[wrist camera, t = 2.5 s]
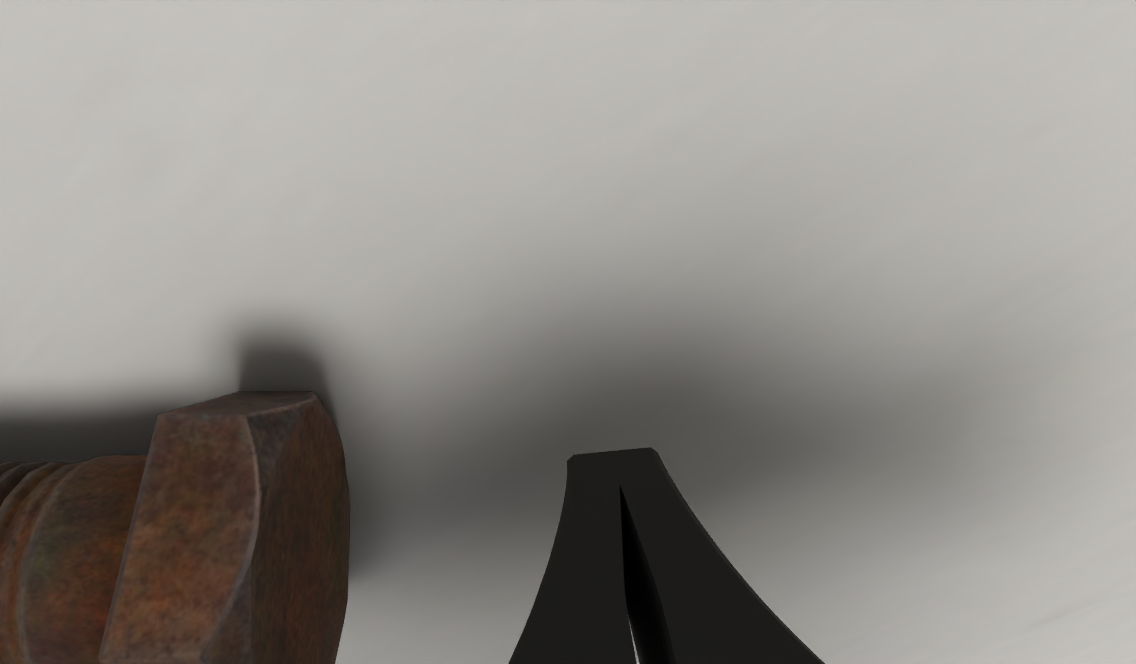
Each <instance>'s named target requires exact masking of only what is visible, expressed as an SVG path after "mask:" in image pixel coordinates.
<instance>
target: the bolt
mask: <svg viewBox="0 0 1136 664" xmlns="http://www.w3.org/2000/svg"><path fill="white" fill-rule="evenodd" d="M349 542H350V511H349V487H348V481H347V476H346V469H345V458H344V451H343V447H342V444H341V440H340V437H339V434H338V432H337V429H336V427H335V425H334V423H333V421H332V418H331V417H330V415H329V414H328V412H327V411H326V409H325V408H324V406H323V405H322V403H321V402H320V400H319V399H318V397H317V396H316V394H315V393H313V392H312V391H239V392H236V393H232V394H229V395H225V396H222V397H219V398H215V399H212V400H208V401H205V402H201V403H198V404H194V405H191V406H187V407H184V408H180V409H177V410H173V411H170V412H166V413H163V414H159V415H158V416H157V419H156V423H155V427H154V431H153V435H152V439H151V443H150V447H149V452H148V455H108V456H100V457H94V458H92V459H90V460H88V461H84V462H79V463H74V464H72V463H61V462H50V463H46V462H33V463H20V462H4V463H0V664H335V661H336V656H337V652H338V647H339V642H340V638H341V633H342V628H343V624H344V618H345V612H346V606H347V599H348V571H349Z"/></svg>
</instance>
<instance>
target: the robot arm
mask: <svg viewBox="0 0 1136 664" xmlns="http://www.w3.org/2000/svg"><path fill="white" fill-rule="evenodd" d="M628 617H629V619H628ZM629 621H630V624H629ZM630 626H631V630H632V634H633V638H634V642H635V646H636V651H637V655H638V659H639V663H640V664H825V663H824V662H823V661H822V660H821V659H819V658H818V657H817V656H816V655H815V654H814V653H813V652H812V651H811V650H810V649H809V648H808V647H807V646H806V645H805V644H804V643H803V642H802V641H801V640H800V639H799V638H798V637H797V636H796V635H795V634H794V633H793V632H792V631H791V630H790V629H789V628H788V627H787V626H786V625H785V624H784V623H783V622H782V621H781V620H780V619H779V618H778V617H777V616H776V615H775V614H774V613H773V612H772V610H771V609H770V608H769V607H768V606H767V605H766V604H765V603H764V602H763V601H762V599H761V598H760V597H759V596H758V595H757V594H756V593H755V592H754V590H753V589H752V588H751V587H750V586H749V585H748V583H747V582H746V581H745V580H744V579H743V577H742V576H741V575H740V574H739V573H738V571H737V570H736V569H735V568H734V567H733V565H732V564H731V563H730V562H729V560H728V559H727V558H726V557H725V555H724V554H723V553H722V552H721V550H720V549H719V548H718V546H717V545H716V544H715V542H714V541H713V539H712V538H711V537H710V535H709V534H708V533H707V531H706V530H705V529H704V527H703V526H702V525H701V523H700V522H699V520H698V519H697V518H696V516H695V515H694V513H693V512H692V510H691V509H690V507H689V506H688V504H687V503H686V501H685V500H684V498H683V497H682V495H681V493H680V492H679V490H678V489H677V487H676V485H675V484H674V482H673V480H672V479H671V477H670V475H669V474H668V472H667V470H666V468H665V466H664V464H663V463H662V461H661V459H660V456H659V454H658V452H656V451H655V450H654V449H652V448H651V447H649V448H639V449H629V450H618V451H608V452H598V453H587V454H577V455H573V456H572V457H571V458H570V459H569V460H568V461H567V484H566V491H565V498H564V503H563V508H562V513H561V518H560V522H559V526H558V530H557V533H556V537H555V541H554V544H553V548H552V552H551V555H550V559H549V562H548V565H547V568H546V571H545V574H544V577H543V579H542V582H541V585H540V588H539V591H538V594H537V597H536V599H535V602H534V605H533V608H532V610H531V613H530V615H529V618H528V620H527V623H526V625H525V628H524V630H523V632H522V635H521V637H520V639H519V642H518V644H517V646H516V648H515V650H514V653H513V655H512V657H511V659H510V661H509V664H637V663H636V658H635V652H634V646H633V641H632V635H631V630H630Z"/></svg>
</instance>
